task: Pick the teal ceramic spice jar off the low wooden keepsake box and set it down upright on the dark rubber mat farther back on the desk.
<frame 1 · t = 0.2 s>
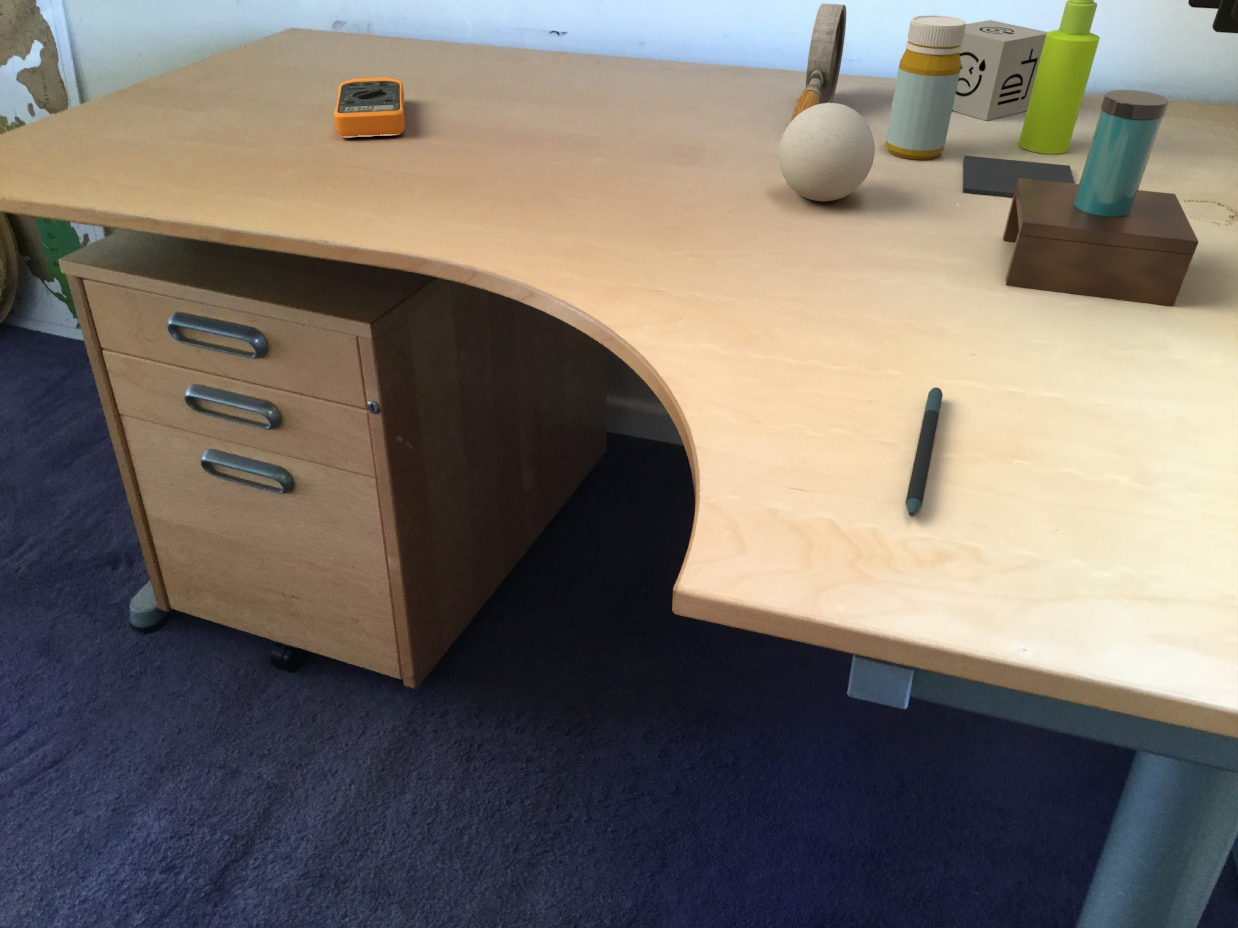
hand: (1221, 19, 73), 22 cm above the table, tool pointing down, fingers open, 9 cm apart
soap dispenser: (1046, 149, 118), on the table
mat: (1017, 180, 108), on the table
magnifying glass: (812, 117, 129), on the table
ball: (819, 200, 103), on the table
spice jar: (1101, 207, 85), point 6 cm above the table, touching wooden keepsake box
wooden keepsake box: (1082, 269, 89), on the table
pen: (924, 456, 64), on the table
multimeter: (373, 121, 126), on the table
bottle: (913, 153, 117), on the table
icon cube: (979, 108, 133), on the table
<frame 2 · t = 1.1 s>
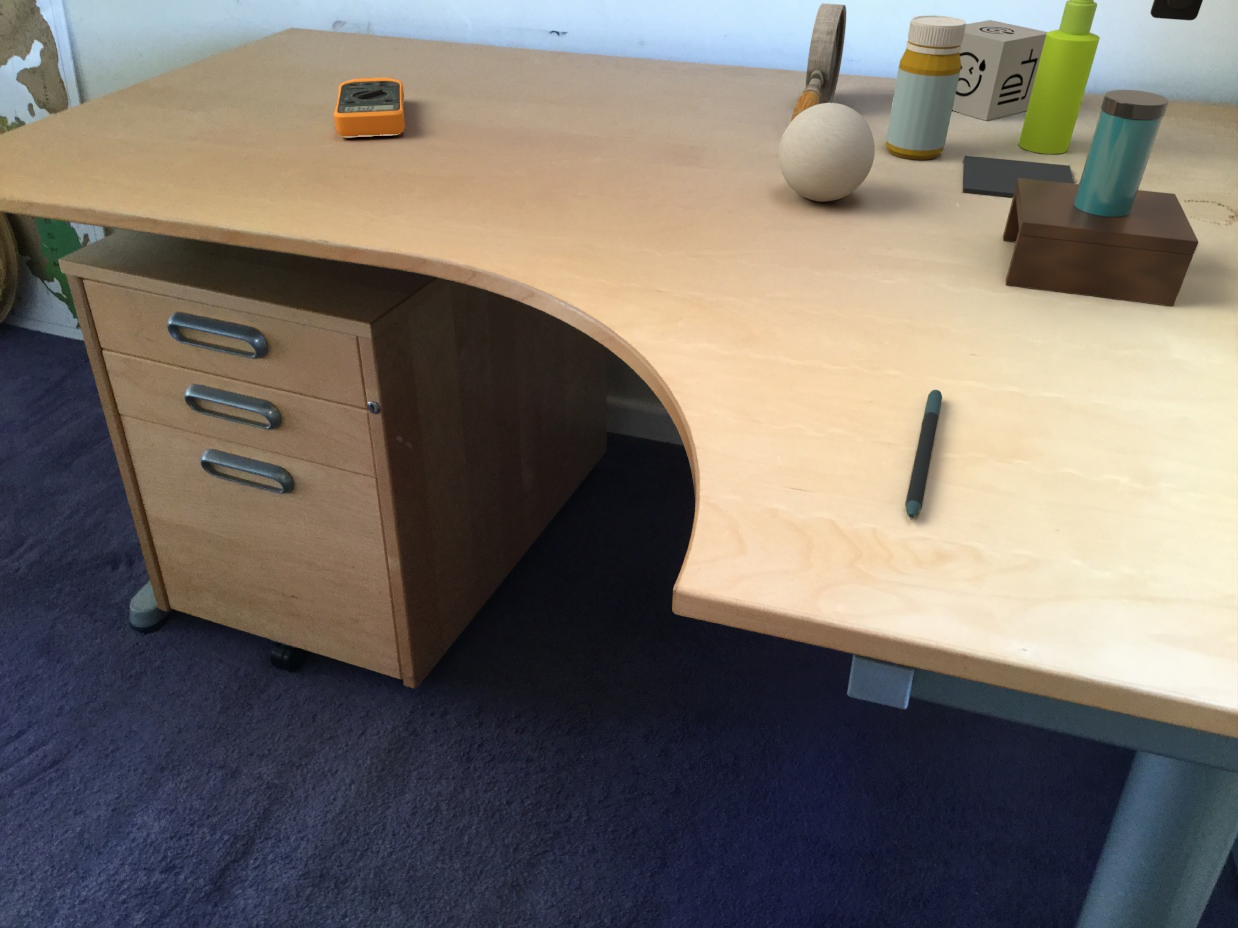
hand: (1162, 7, 75), 23 cm above the table, tool pointing down, fingers open, 9 cm apart
nothing on the table moved.
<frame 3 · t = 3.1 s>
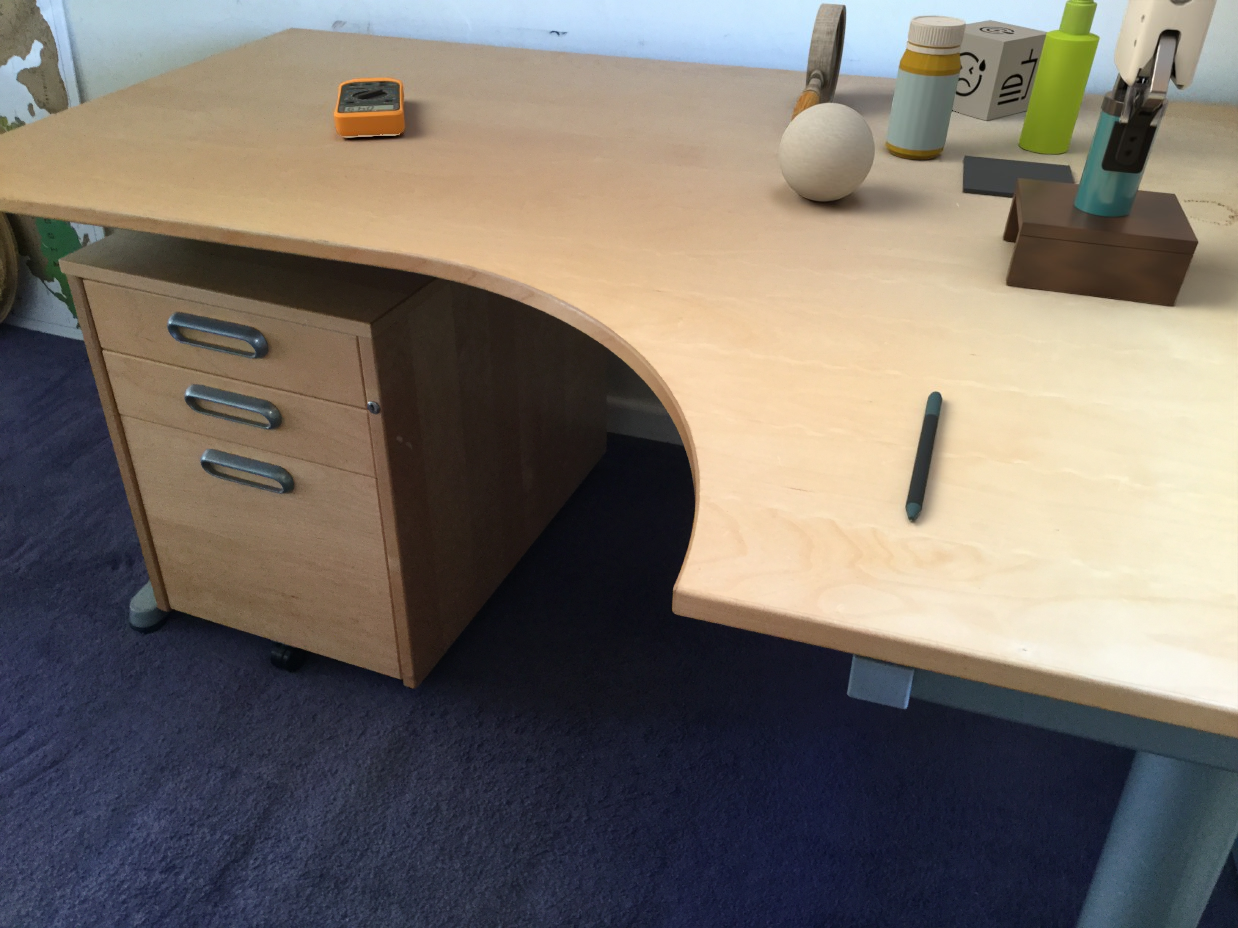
hand: (1117, 158, 83), 10 cm above the table, tool pointing down, fingers closed on spice jar, 4 cm apart
spice jar: (1101, 207, 85), point 6 cm above the table, touching gripper, wooden keepsake box
everything else where it was.
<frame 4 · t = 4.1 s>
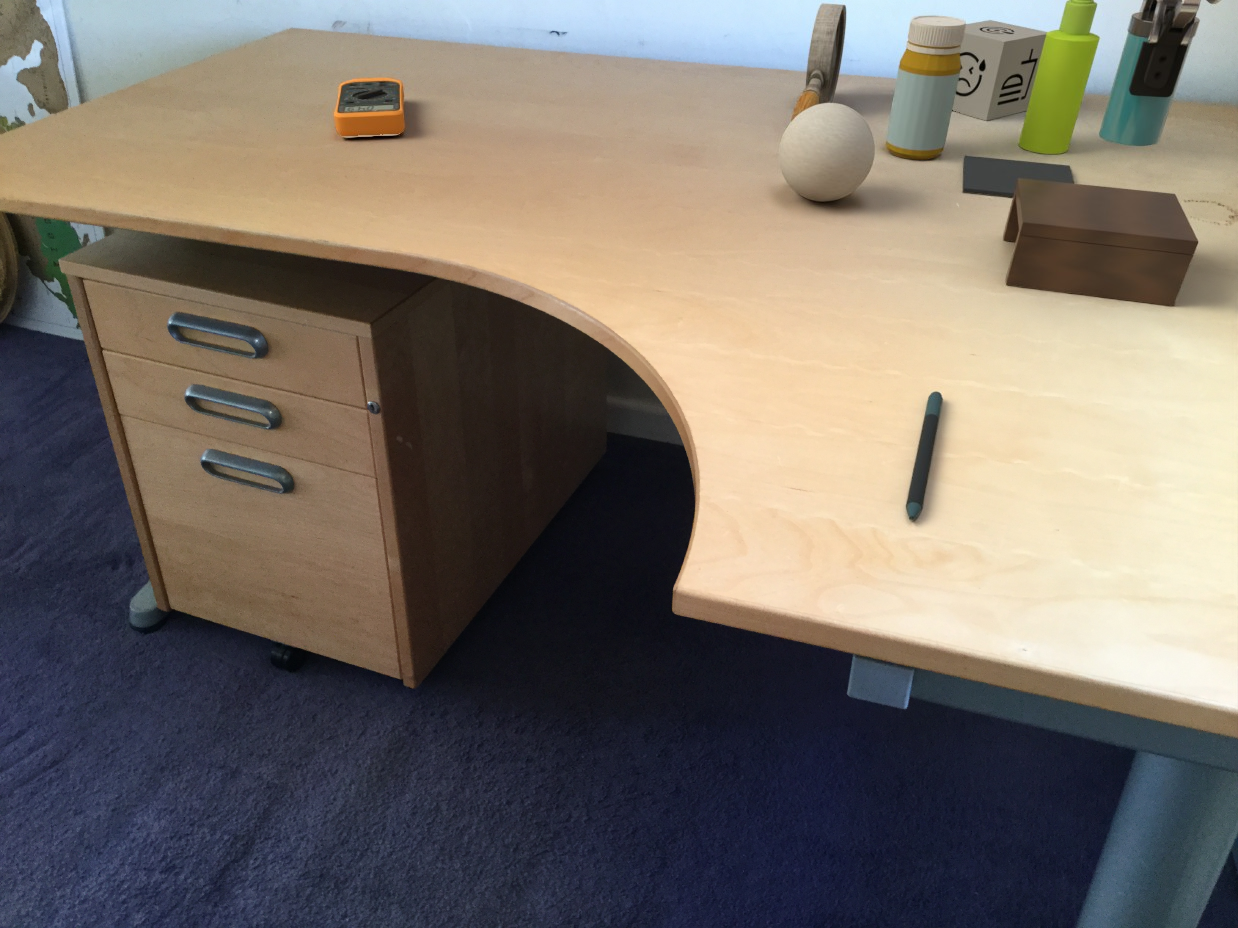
hand: (1145, 84, 79), 17 cm above the table, tool pointing down, fingers closed on spice jar, 4 cm apart
spice jar: (1128, 137, 81), point 12 cm above the table, touching gripper
everything else where it was.
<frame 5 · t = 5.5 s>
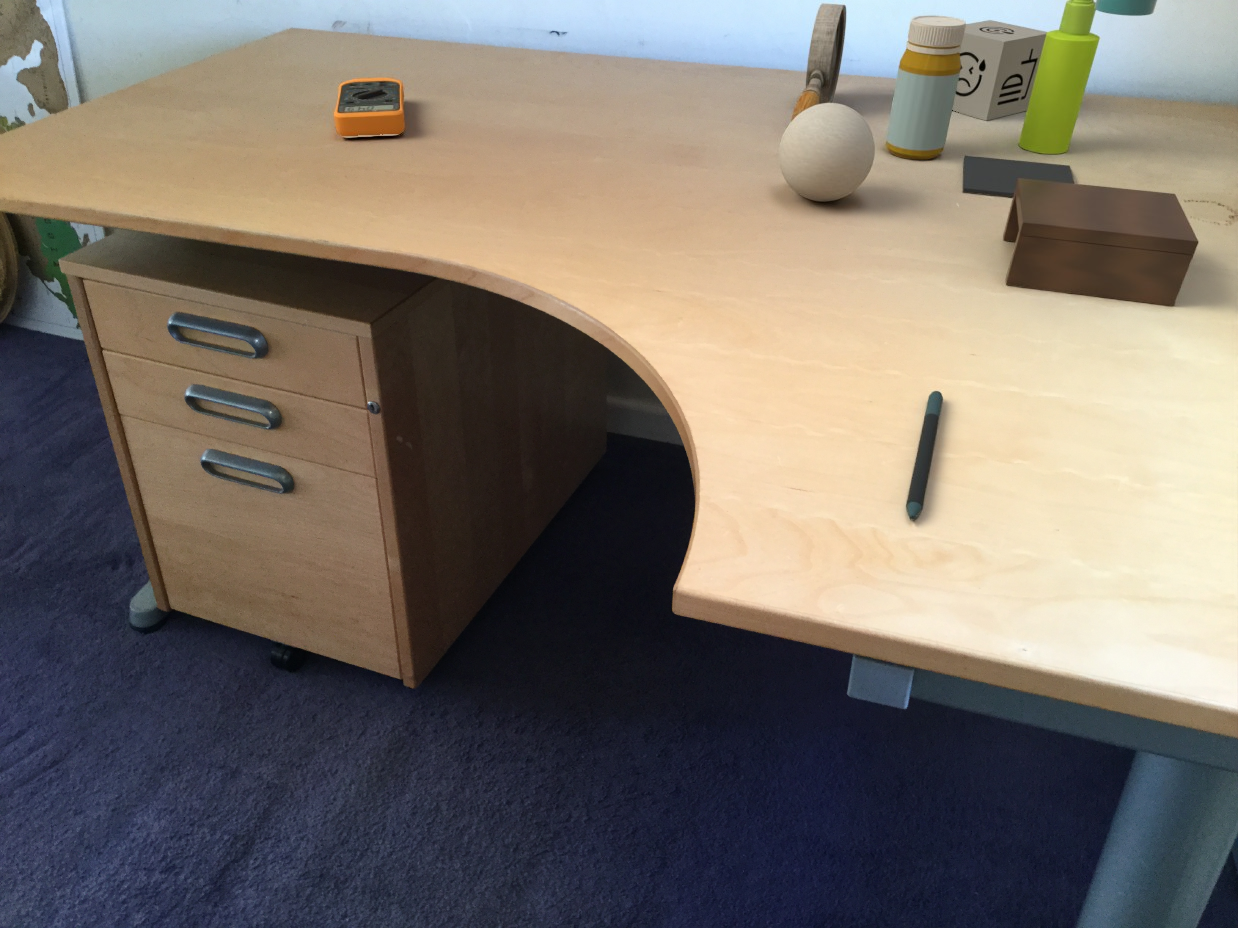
spice jar: (1123, 10, 83), point 21 cm above the table, touching gripper
everything else where it was.
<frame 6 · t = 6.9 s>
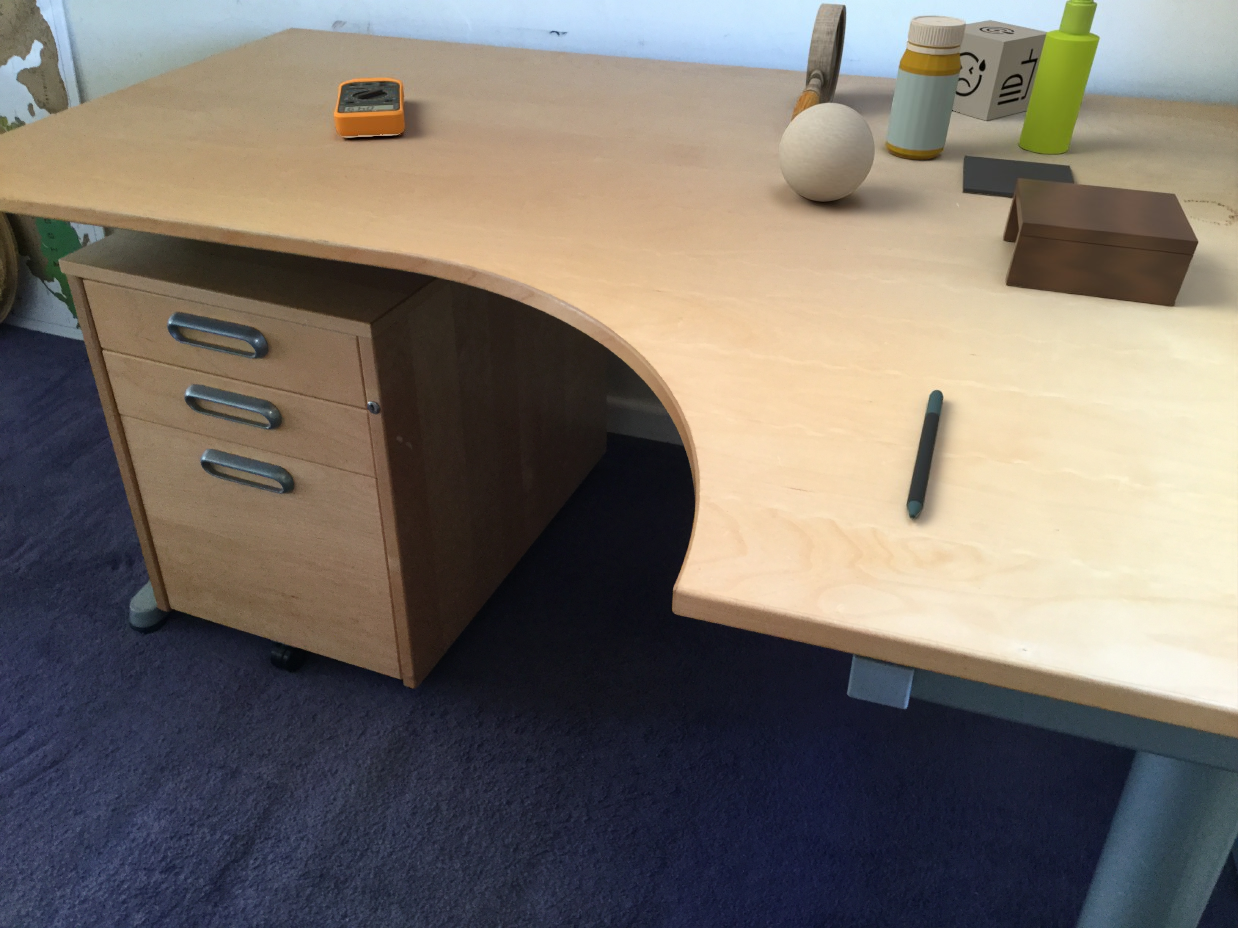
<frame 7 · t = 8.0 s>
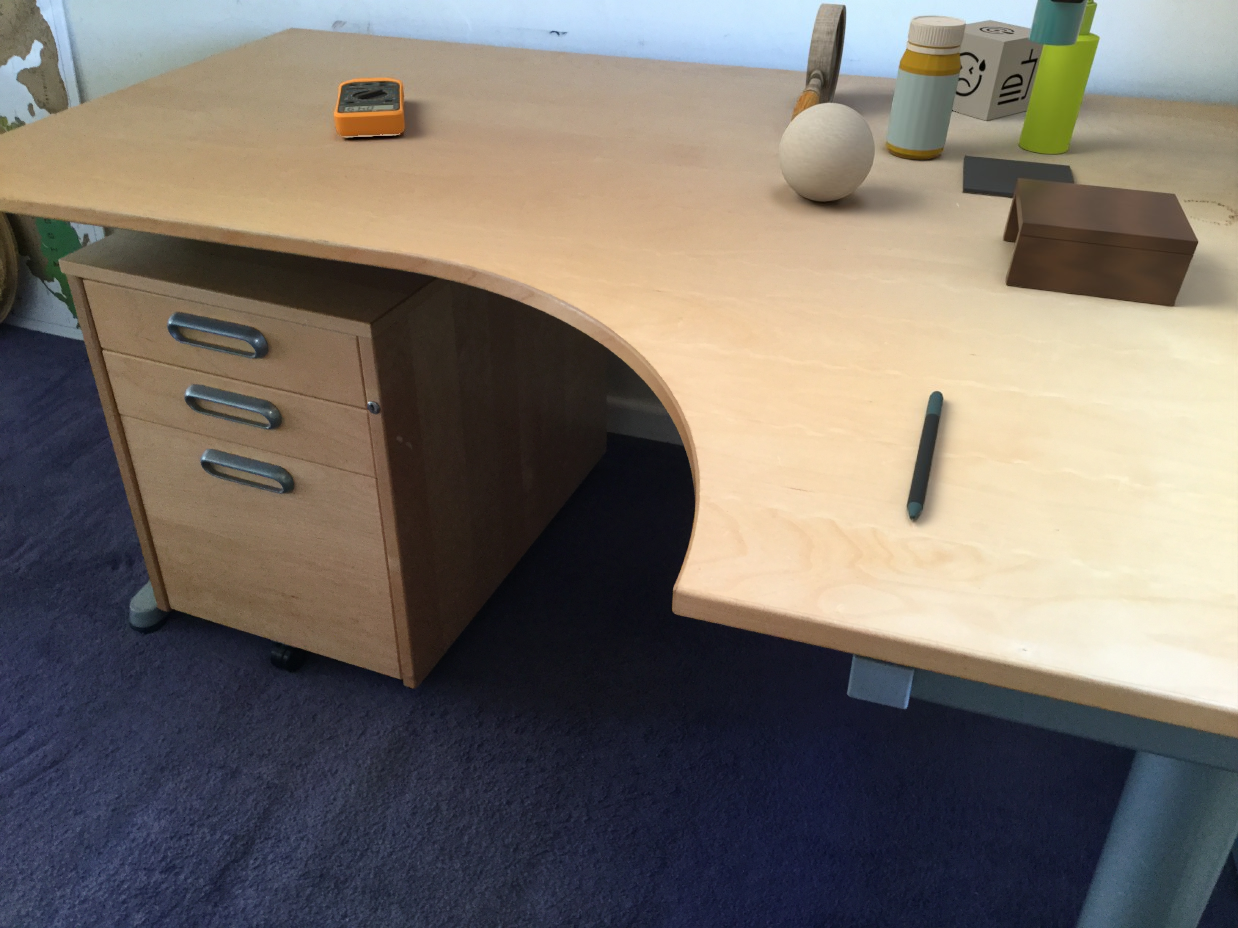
spice jar: (1052, 41, 100), point 15 cm above the table, touching gripper
everything else where it was.
when the fingers open (5 cm above the table, at t = 11.6 s): spice jar stays where it is, resting on mat.
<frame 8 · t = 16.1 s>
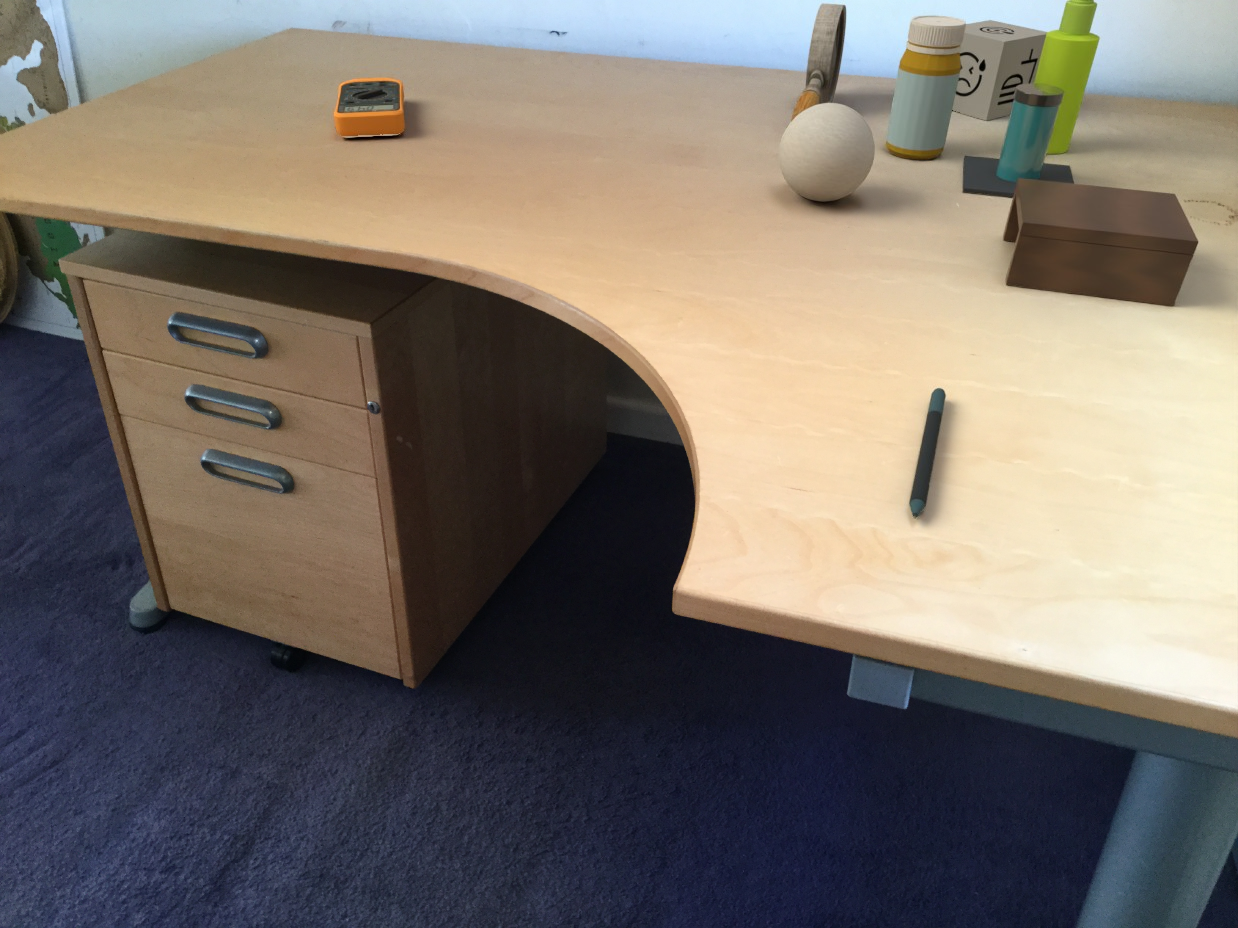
spice jar: (1017, 176, 108), resting on mat
everything else where it was.
at the end: spice jar inside the target area on the mat (0.1 cm from its centre), point 0.5 cm above the mat's base; spice jar tilted 0°; the gripper is holding nothing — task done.
